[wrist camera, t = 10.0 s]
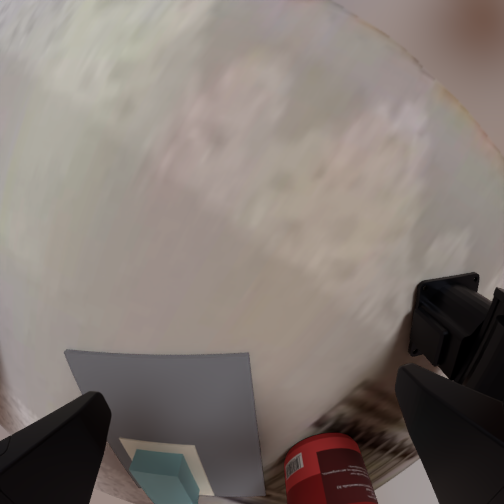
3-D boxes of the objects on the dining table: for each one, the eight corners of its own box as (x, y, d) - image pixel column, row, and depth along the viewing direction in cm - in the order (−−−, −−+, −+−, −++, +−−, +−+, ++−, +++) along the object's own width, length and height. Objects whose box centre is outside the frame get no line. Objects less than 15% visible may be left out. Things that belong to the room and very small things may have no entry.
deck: (199, 489, 24) (196, 509, 22) (159, 485, 25) (154, 504, 22) (182, 453, 23) (177, 476, 20) (136, 448, 23) (128, 469, 20)
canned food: (289, 478, 25) (297, 558, 14) (276, 440, 23) (283, 540, 12) (357, 462, 24) (380, 539, 14) (356, 421, 22) (390, 515, 12)
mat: (248, 352, 20) (248, 357, 20) (265, 492, 25) (265, 497, 25) (66, 349, 21) (62, 353, 20) (139, 484, 26) (138, 488, 25)
